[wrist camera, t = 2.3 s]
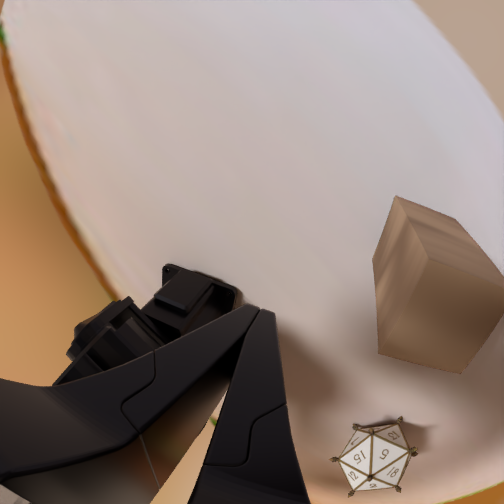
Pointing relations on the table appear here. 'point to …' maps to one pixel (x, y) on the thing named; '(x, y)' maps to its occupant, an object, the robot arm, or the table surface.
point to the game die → (375, 458)
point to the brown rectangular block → (433, 289)
